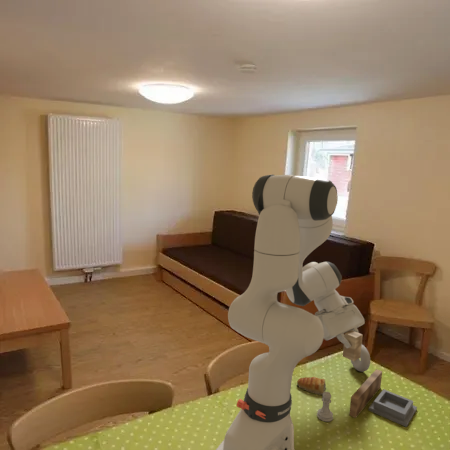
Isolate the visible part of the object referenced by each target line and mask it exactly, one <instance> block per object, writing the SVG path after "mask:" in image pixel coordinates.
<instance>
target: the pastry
mask: <svg viewBox="0 0 450 450" xmlns="http://www.w3.org/2000/svg"><path fill="white" fill-rule="evenodd" d="M296 384H297V386H298V388H300V389H302V390H304V391H306V392H308V393H313V394H316V395H320V396H321V395H323V393H324V392H326V391H325V390H326V388H327V385H326V379H325V378H320V377H317V376H312V377H307V376H305V377H300V378H299V379H298V380H297V383H296Z"/></svg>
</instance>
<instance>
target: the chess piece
mask: <svg viewBox="0 0 450 450" xmlns="http://www.w3.org/2000/svg"><path fill="white" fill-rule="evenodd" d="M331 399H332V394H331V392H329V391H325V392H324V393H323V395H322V398H321V401H322V406H321V407H320V408H319V409H318V410H317V413H316V416H317V418H318V419H319V420H320V421H322V422H326V423H327V422H331V421H333V419H334V414H333V412H332V411H331V409H330V404H331V403H332V400H331Z"/></svg>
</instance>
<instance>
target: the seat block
mask: <svg viewBox="0 0 450 450" xmlns="http://www.w3.org/2000/svg"><path fill="white" fill-rule="evenodd" d="M417 409H418V406H416V405H414V400H412V399H409V398H406V397H404V396H402V395H399V394H396V393H394V392H392V391H390V390H387V389H382V391H381V392H380V393H379V394H378V395H377V397H376V398H375V399H374V400H373V401H372V403H371V404H370V405H369V407H368V411H370V412H372V413H374V414H376V415H378V416H381V417H382V418H385V419H388V420H390V421H391V422H394V423H397V424H398V425H401V426H403V427H405V428H407V427H408V426H409V423H410V422H411V420H413V419H412V418H413V417H414V415H415V413H416V412H417Z"/></svg>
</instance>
